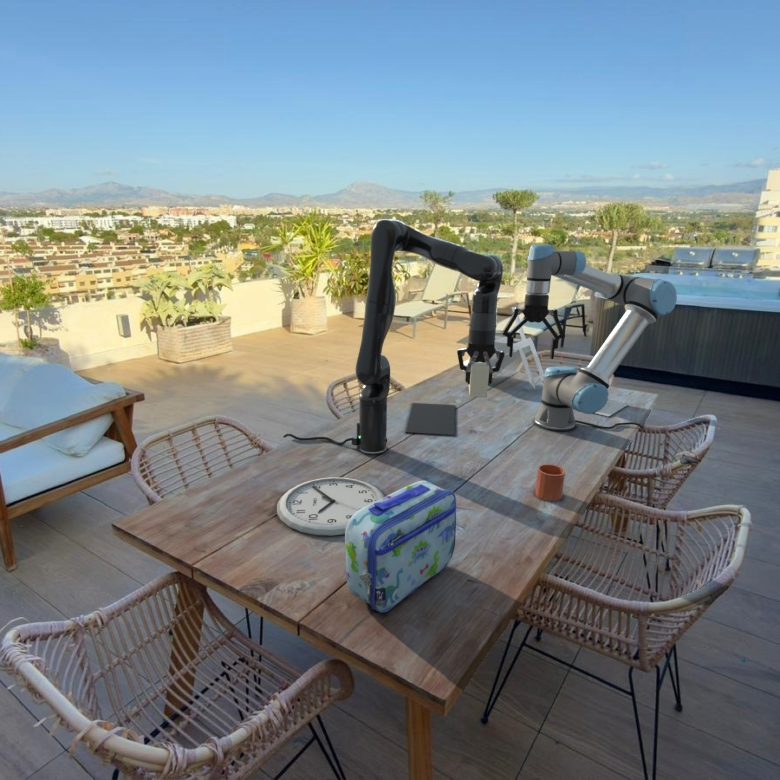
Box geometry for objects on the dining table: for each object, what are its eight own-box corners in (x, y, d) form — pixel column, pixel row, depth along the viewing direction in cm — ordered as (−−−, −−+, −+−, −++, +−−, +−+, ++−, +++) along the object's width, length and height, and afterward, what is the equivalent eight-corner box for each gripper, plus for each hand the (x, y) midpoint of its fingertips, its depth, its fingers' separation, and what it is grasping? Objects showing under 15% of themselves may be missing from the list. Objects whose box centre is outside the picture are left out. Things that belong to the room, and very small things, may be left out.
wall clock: (392, 527, 129) (269, 531, 127) (392, 533, 130) (269, 537, 127) (383, 473, 158) (282, 475, 155) (383, 478, 158) (283, 480, 156)
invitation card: (608, 416, 214) (573, 407, 224) (608, 416, 214) (573, 407, 224) (627, 404, 229) (594, 396, 238) (627, 405, 229) (594, 397, 239)
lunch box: (374, 626, 100) (375, 530, 93) (338, 598, 107) (337, 508, 101) (459, 568, 117) (465, 484, 111) (424, 547, 124) (427, 467, 118)
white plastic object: (482, 418, 267) (461, 395, 242) (463, 346, 289) (443, 318, 265) (552, 394, 255) (538, 367, 230) (527, 321, 277) (512, 289, 252)
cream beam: (482, 373, 175) (484, 347, 172) (486, 397, 150) (489, 367, 148) (467, 372, 176) (469, 346, 173) (469, 396, 151) (471, 366, 148)
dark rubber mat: (454, 406, 224) (454, 405, 224) (454, 436, 192) (454, 435, 192) (412, 403, 226) (412, 402, 226) (405, 433, 194) (405, 432, 194)
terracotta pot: (559, 489, 154) (562, 464, 151) (564, 502, 147) (567, 476, 144) (533, 487, 154) (536, 463, 152) (537, 500, 147) (540, 474, 145)
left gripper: (506, 326, 152) (501, 382, 157) (457, 323, 153) (453, 379, 159) (509, 330, 145) (503, 389, 150) (457, 328, 146) (453, 386, 151)
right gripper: (574, 293, 172) (566, 356, 179) (497, 291, 175) (492, 352, 181) (579, 296, 165) (571, 361, 172) (499, 293, 168) (494, 358, 174)
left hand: (478, 384), depth 154 cm, fingers closed on cream beam, 5 cm apart
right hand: (530, 357), depth 176 cm, fingers open, 13 cm apart
